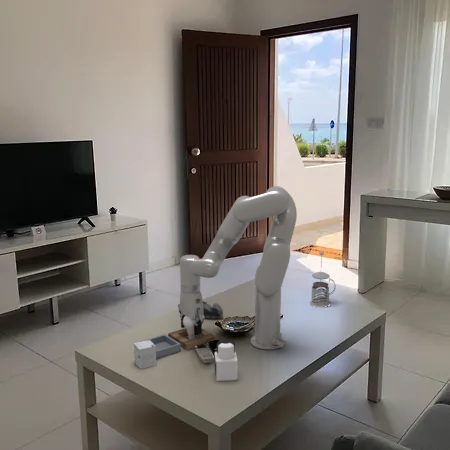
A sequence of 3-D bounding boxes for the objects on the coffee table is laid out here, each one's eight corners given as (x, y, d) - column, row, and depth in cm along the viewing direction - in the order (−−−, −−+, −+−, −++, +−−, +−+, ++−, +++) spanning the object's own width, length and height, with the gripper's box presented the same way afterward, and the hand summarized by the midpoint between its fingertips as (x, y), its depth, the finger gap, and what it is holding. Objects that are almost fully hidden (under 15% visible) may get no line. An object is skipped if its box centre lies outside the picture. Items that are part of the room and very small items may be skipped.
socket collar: (214, 341, 193) (214, 335, 193) (186, 350, 185) (186, 344, 185) (195, 330, 203) (195, 325, 203) (168, 339, 195) (168, 333, 195)
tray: (181, 351, 185) (180, 343, 184) (154, 360, 178) (154, 352, 178) (165, 341, 193) (165, 334, 193) (139, 349, 187) (139, 341, 186)
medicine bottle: (214, 370, 170) (214, 337, 168) (235, 370, 171) (235, 337, 168) (216, 381, 163) (215, 347, 161) (237, 380, 164) (237, 346, 162)
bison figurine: (222, 321, 213) (226, 311, 223) (222, 306, 212) (226, 297, 221) (195, 320, 216) (200, 310, 225) (194, 304, 214) (199, 295, 223)
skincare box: (134, 362, 177) (133, 342, 175) (150, 358, 180) (149, 339, 178) (140, 369, 172) (139, 349, 170) (156, 365, 175) (156, 345, 173)
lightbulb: (197, 344, 191) (196, 317, 188) (181, 343, 192) (180, 316, 190) (201, 337, 197) (201, 311, 194) (185, 336, 198) (185, 310, 196)
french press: (308, 300, 238) (310, 248, 233) (333, 301, 236) (335, 249, 231) (309, 307, 228) (311, 254, 223) (335, 308, 227) (337, 255, 222)
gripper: (212, 291, 185) (212, 335, 189) (186, 280, 199) (186, 321, 202) (195, 295, 181) (196, 340, 184) (169, 284, 194) (171, 326, 198)
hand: (191, 330), depth 193 cm, fingers open, 8 cm apart
